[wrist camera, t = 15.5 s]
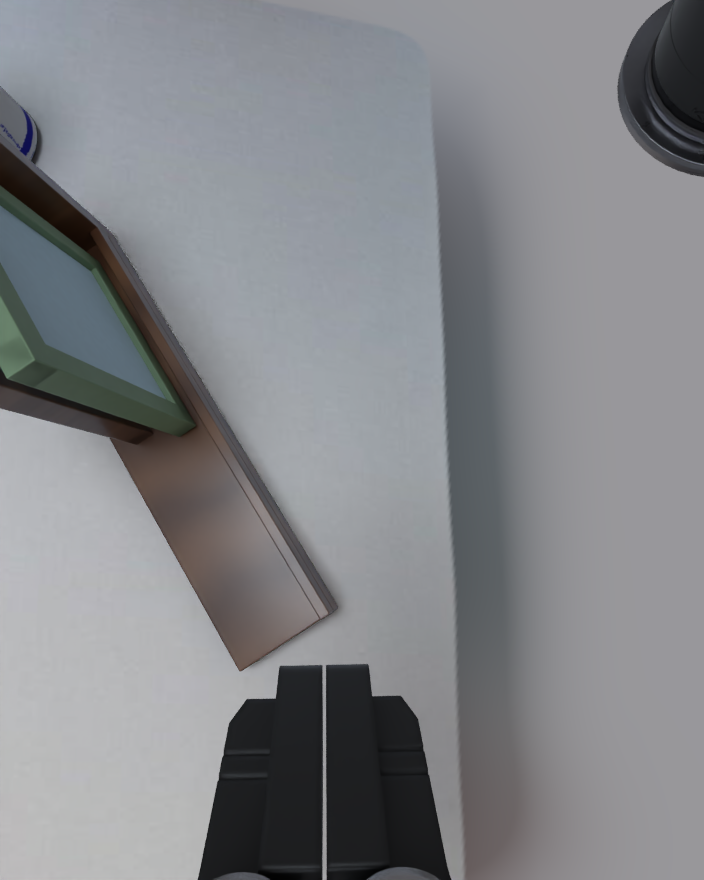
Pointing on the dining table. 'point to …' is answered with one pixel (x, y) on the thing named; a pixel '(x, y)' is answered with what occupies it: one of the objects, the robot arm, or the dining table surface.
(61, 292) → the sliding pane
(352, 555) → the dining table surface
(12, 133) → the beverage can
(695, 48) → the robot arm
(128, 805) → the dining table surface
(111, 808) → the dining table surface
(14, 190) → the window frame
